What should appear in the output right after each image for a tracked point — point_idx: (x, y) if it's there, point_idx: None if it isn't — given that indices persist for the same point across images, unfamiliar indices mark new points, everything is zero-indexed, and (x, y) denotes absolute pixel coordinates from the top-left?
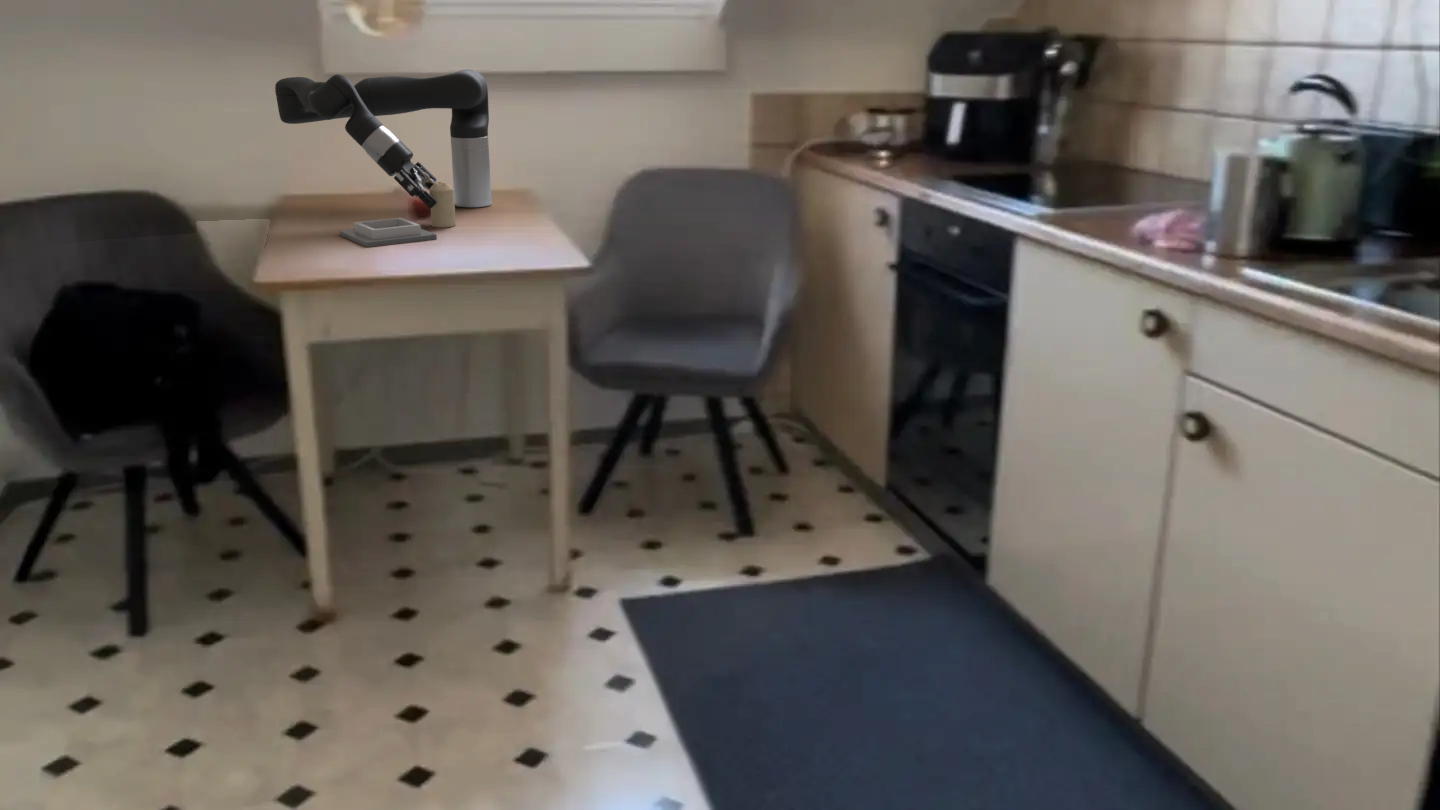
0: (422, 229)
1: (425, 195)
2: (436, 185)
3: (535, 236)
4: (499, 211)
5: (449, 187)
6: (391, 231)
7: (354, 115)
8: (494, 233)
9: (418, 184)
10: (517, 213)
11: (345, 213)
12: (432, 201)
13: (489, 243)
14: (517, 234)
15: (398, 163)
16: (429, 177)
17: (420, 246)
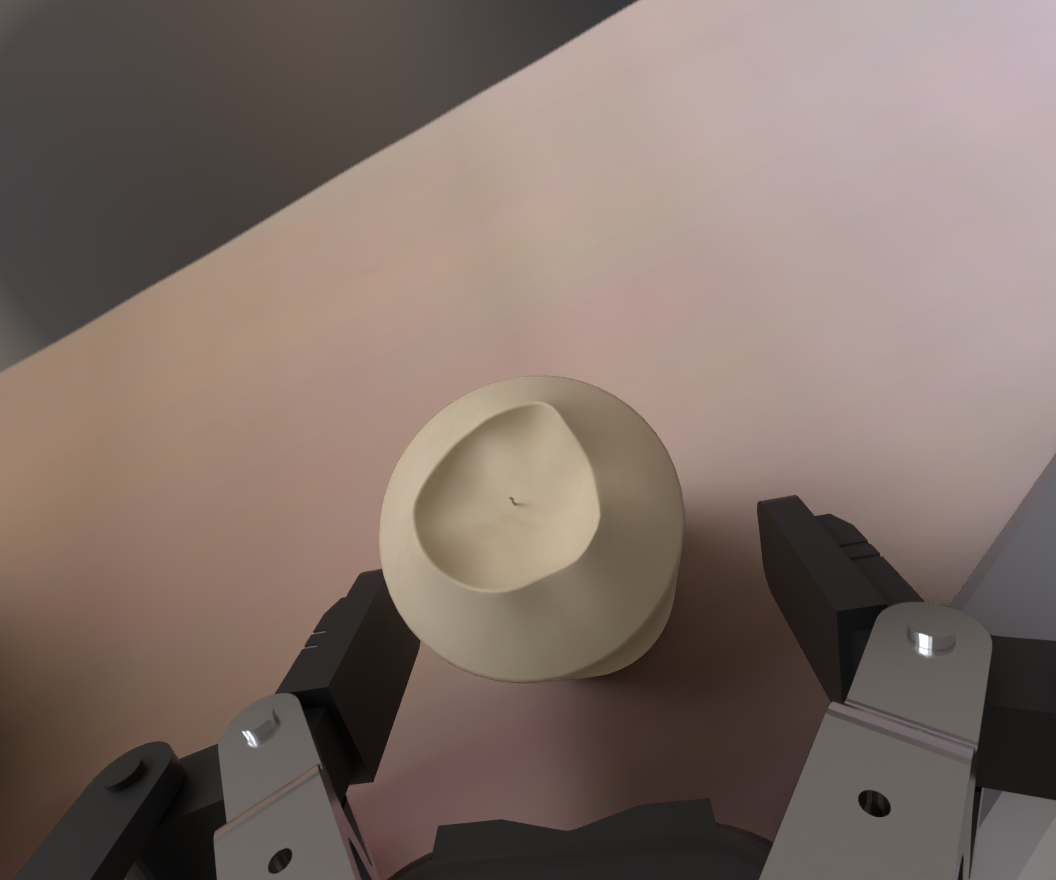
0: (989, 581)
1: (903, 583)
2: (619, 513)
3: (717, 21)
4: (88, 464)
5: (541, 386)
6: None
7: None
8: (721, 192)
9: (981, 718)
10: (151, 353)
11: None
12: (824, 521)
13: (1014, 80)
14: (701, 98)
15: None
16: (316, 772)
17: None
